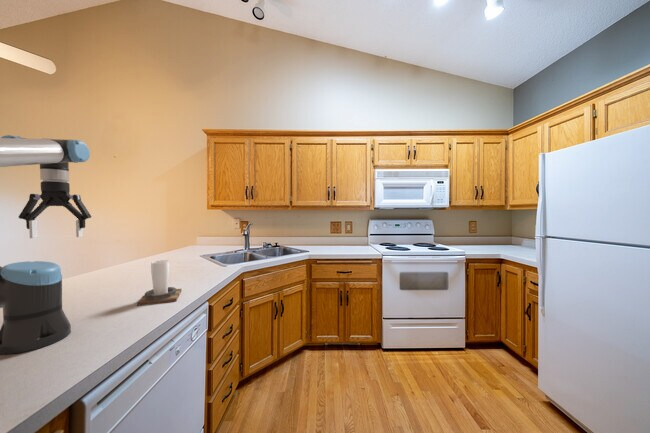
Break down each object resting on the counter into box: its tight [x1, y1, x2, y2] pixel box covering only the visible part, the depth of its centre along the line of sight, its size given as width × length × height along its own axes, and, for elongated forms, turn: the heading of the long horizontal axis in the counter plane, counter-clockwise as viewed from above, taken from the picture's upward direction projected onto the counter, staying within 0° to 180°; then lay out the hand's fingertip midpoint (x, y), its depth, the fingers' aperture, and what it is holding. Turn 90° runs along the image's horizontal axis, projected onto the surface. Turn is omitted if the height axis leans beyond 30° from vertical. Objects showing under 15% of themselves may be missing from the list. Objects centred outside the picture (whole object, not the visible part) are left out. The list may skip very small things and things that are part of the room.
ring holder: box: [136, 286, 182, 307], centre depth 112 cm, size 14×14×3 cm
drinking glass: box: [150, 259, 170, 295], centre depth 112 cm, size 7×7×15 cm
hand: (57, 237), depth 97 cm, fingers open, 13 cm apart
